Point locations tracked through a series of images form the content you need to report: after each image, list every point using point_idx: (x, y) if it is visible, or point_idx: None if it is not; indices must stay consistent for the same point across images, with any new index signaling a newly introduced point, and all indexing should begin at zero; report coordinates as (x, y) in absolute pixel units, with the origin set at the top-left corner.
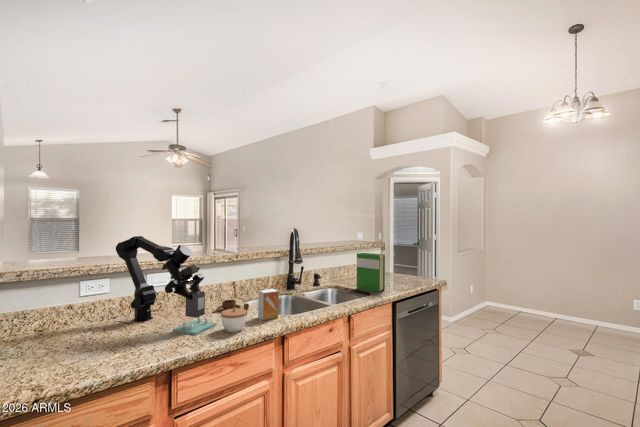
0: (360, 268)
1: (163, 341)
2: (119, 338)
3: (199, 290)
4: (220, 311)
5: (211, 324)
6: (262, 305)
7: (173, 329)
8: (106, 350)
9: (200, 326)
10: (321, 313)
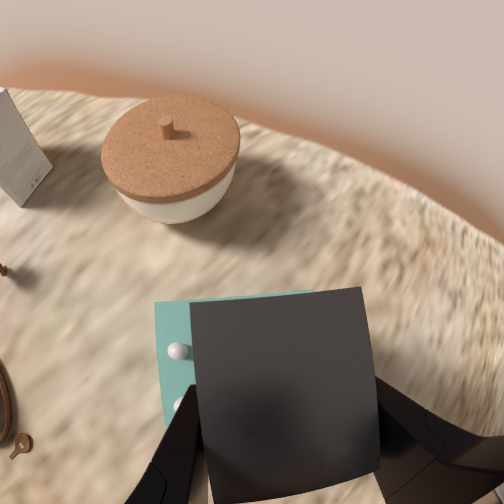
0: None
1: (412, 348)
2: None
3: (172, 438)
4: (9, 411)
5: (183, 310)
6: (23, 136)
7: None
8: (493, 409)
9: None
10: None
